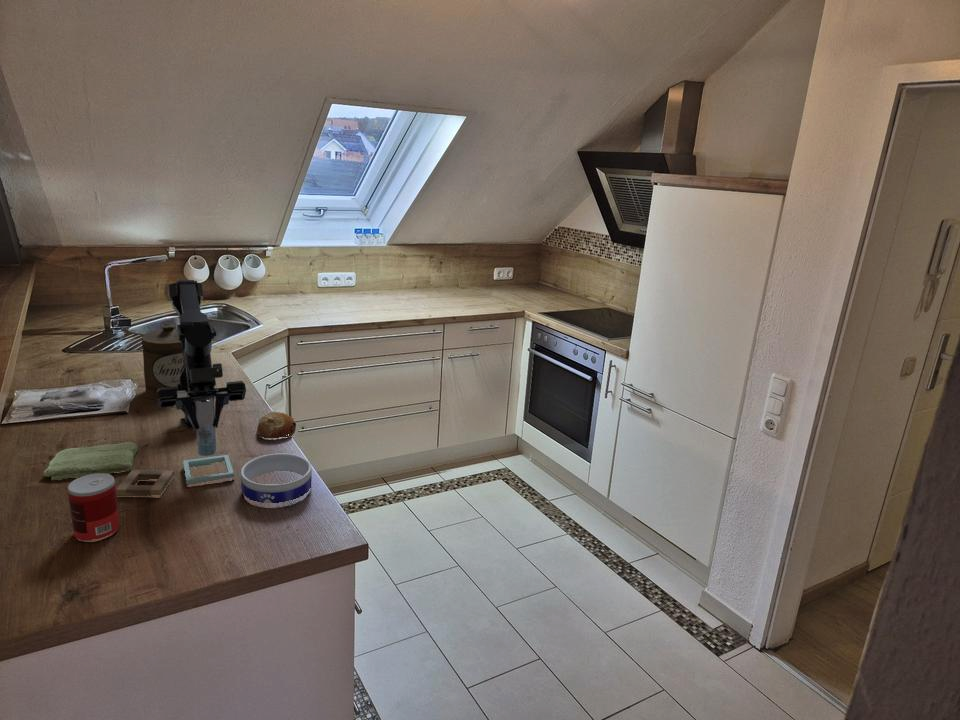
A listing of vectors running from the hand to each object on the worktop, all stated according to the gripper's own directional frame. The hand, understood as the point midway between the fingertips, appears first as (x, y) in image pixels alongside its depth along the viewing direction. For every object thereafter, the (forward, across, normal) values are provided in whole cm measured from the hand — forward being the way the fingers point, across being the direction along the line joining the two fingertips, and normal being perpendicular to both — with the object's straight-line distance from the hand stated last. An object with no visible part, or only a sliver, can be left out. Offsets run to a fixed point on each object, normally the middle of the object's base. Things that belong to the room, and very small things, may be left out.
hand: (206, 428), depth 146 cm
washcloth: (-1, -24, +20) cm, 31 cm away
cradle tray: (+8, 0, +10) cm, 12 cm away
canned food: (+20, -22, -2) cm, 30 cm away
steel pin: (+4, 0, +6) cm, 7 cm away
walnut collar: (+9, -13, +8) cm, 18 cm away
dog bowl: (+17, +13, +1) cm, 22 cm away
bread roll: (-5, +19, +23) cm, 30 cm away
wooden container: (-31, -5, +50) cm, 59 cm away
